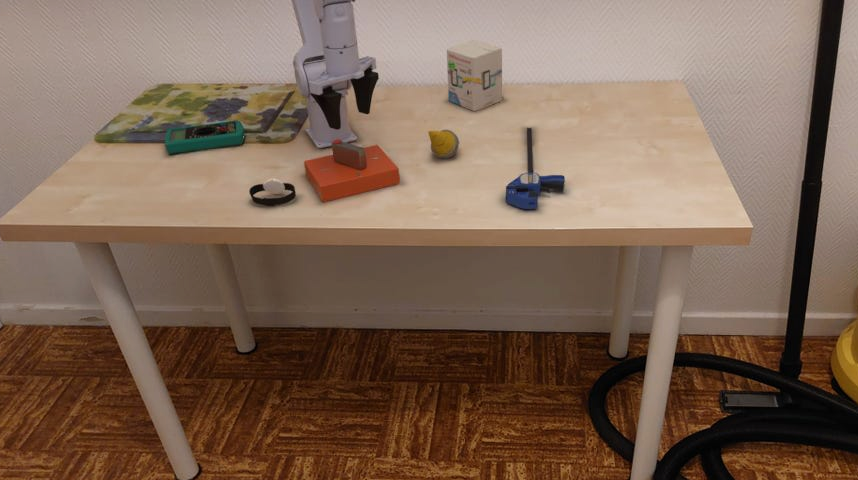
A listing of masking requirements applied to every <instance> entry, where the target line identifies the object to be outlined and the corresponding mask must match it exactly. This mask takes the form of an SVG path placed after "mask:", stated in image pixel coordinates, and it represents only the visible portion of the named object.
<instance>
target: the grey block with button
mask: <svg viewBox="0 0 858 480" xmlns="http://www.w3.org/2000/svg"><path fill="white" fill-rule="evenodd" d="M331 145H332V146H331V150H332V151H331V152H332V155H333V159H334V162H337V163H340V164H343V165H346V166H349V167H353V168H356V169H359V170H362V169H364V168H366V167H367V162H366V154H365V147H362V146H359V145H355V144H352V143H350V142H347V143H346V142H342V141H341V140H338V139H337V140H335V141H333V142H332V143H331Z"/></svg>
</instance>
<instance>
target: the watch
mask: <svg viewBox="0 0 858 480" xmlns="http://www.w3.org/2000/svg"><path fill="white" fill-rule="evenodd" d="M248 191H249V195H250V198H251V200H252V202H253V203H255V204H257V205H260V206H265V207H275V206H280V205H284V204H288V203H290V202H292V201H293V200H295V199H296V196H297V193H296V188H295V185H293V184H292V183H288V182H283V181H281V180H279V179H277V178H273V177H271V178H269V179H267V180H266V181H265V182H264V183H259V184H255V185H252V186H251V187H250V188H249V190H248ZM285 191H291V192H290V193H288V194H287V195H284V196H280V197H263V198H262V197H261V198H260V197H257V196H255V195H256V194H258V193H260V192H268V193H269V194H272V195H279V194H282V193H283V192H285Z"/></svg>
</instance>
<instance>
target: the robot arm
mask: <svg viewBox="0 0 858 480" xmlns="http://www.w3.org/2000/svg"><path fill="white" fill-rule="evenodd" d="M355 2H356V0H291V4H292V9H293V11H294V15H295V19H296V23H297V26H298V31H299V34H300V38H301V41H302V46H301V47H300V48H299V49H298V51H296V53H295V55H294V56H293V60H292V65H293V71H294V79H295V83H296V86H297V91H298V92H299V94H300V96H302V97H303V98H304V99H306V100H305V101H306V109H307V115H308V122H309V128H306V129H305V132H306V134H307V135H308V137H309V138H310V139H311V141H312V142H313V144H314V145H315V146H316V147H317V149H324V148H328V147H332V145H331V143H332V142H333V141H335V140H337V139H338V140H341V141H342V142H346V143H351V142H355V141H357V140H358V137H357V136H356V135H355V133H354V132H353V131H352V130H351V127H350V120H349V112H348V105H347V98H346V97H347V96H348V95H349V93H348V90H351V88H352V89H353V92H354V97H355V103H356V107H357V111H358V113H360V114H364V115H369V114H370V113H371V106H372V99H373V94H374V90H375V88H376V85H377V83H378V81H379V77H380V76H379V73H378V72H377V71H374V70H376V69H377V59H376V57H372V56H370V55H369V56H368V55H366V56H364V57H361V58H360V54H359V47H358V36H357V29H356V23H355V22H356V20H355V13H354V11H355V10H354V4H353V3H355Z"/></svg>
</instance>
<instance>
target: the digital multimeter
mask: <svg viewBox="0 0 858 480" xmlns="http://www.w3.org/2000/svg"><path fill="white" fill-rule="evenodd" d="M244 133H245V135H244ZM243 136H244V138H243ZM245 139H246V132H245V128H244V125H243V123H242V121H240V120H237V119H233V120H227V121H221V122H214V123H205V124H199V125H191V126H190V125H189V126H182V127H181V126H180V127H172V128H169V129H168V130H167V131H166V133H165V139H164V144H165V145H164V146H165V148H166V152H167V154H170V155H175V154H181V153H183V154H184V153H189V152H197V151H205V150H211V149H220V148H227V147H233V146H234V147H235V146H241V145H242V144H243V142H244V140H245Z"/></svg>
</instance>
